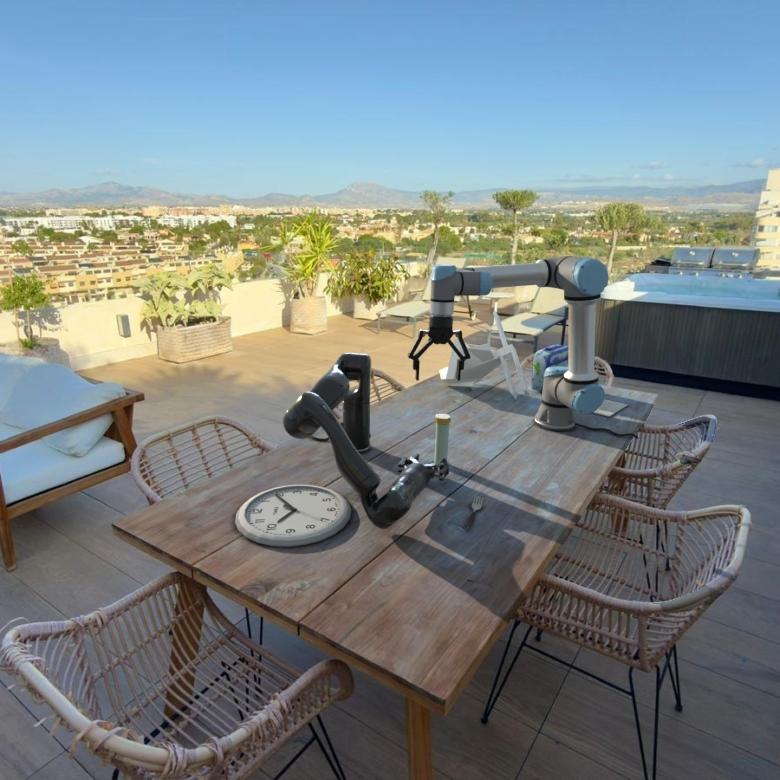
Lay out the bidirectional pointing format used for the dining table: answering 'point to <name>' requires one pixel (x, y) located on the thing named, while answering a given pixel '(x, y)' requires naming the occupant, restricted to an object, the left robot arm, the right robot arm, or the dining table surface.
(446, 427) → the jar
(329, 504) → the wall clock
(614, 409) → the invitation card
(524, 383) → the white plastic object
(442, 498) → the dining table surface
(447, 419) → the lid
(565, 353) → the lunch box
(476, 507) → the fork
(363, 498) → the left robot arm
